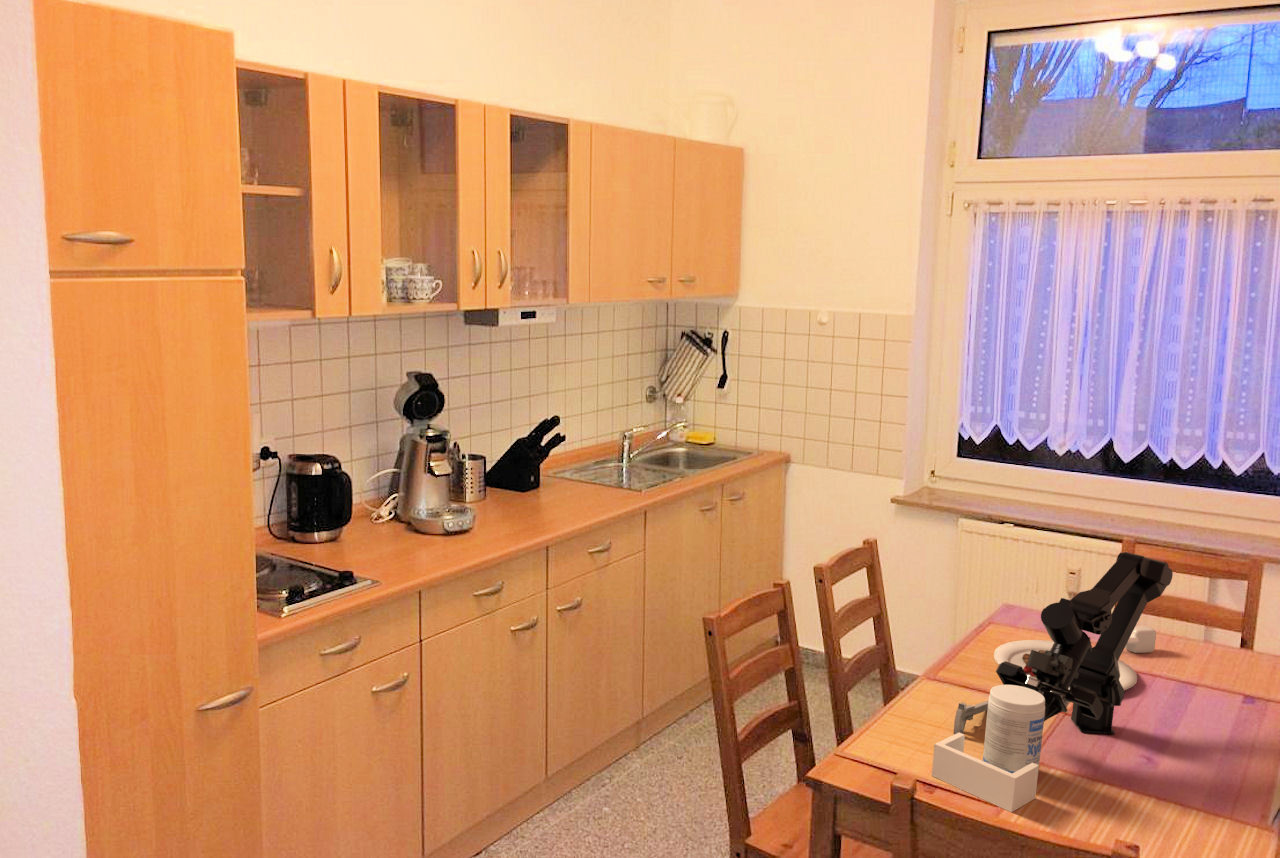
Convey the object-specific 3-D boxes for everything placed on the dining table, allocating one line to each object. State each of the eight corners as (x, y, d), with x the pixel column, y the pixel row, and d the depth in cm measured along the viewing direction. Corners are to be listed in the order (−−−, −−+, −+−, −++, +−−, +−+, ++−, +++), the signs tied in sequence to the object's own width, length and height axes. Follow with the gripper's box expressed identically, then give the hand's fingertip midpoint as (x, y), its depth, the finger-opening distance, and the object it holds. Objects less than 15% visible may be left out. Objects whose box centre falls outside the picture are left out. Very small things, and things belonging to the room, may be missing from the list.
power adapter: (1115, 656, 249) (1118, 632, 248) (1102, 648, 254) (1105, 625, 253) (1156, 654, 252) (1159, 630, 251) (1142, 646, 256) (1145, 623, 255)
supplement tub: (1037, 790, 184) (1046, 710, 181) (979, 778, 187) (987, 699, 185) (1038, 766, 193) (1046, 689, 190) (983, 755, 196) (991, 679, 194)
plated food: (1145, 667, 243) (1147, 653, 243) (1124, 712, 218) (1126, 696, 218) (1011, 638, 259) (1012, 624, 259) (977, 676, 234) (979, 662, 234)
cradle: (956, 763, 192) (959, 732, 191) (1035, 798, 181) (1038, 765, 180) (931, 775, 187) (934, 743, 186) (1011, 812, 176) (1015, 778, 175)
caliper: (958, 738, 203) (961, 706, 202) (953, 736, 204) (955, 705, 203) (997, 705, 219) (1000, 675, 218) (992, 703, 220) (995, 674, 219)
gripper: (1006, 619, 200) (968, 688, 194) (1103, 650, 186) (1065, 725, 181) (1023, 651, 206) (987, 718, 201) (1118, 682, 192) (1082, 756, 187)
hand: (1028, 728), depth 192 cm, fingers closed
